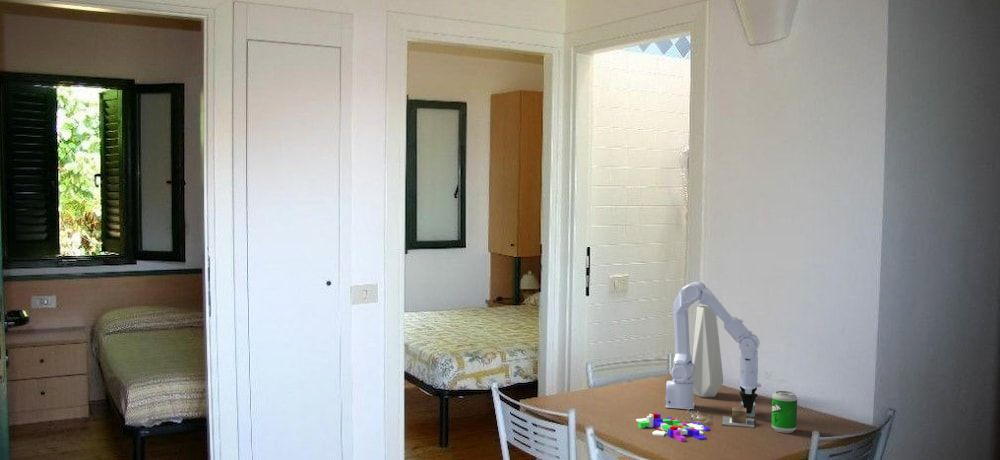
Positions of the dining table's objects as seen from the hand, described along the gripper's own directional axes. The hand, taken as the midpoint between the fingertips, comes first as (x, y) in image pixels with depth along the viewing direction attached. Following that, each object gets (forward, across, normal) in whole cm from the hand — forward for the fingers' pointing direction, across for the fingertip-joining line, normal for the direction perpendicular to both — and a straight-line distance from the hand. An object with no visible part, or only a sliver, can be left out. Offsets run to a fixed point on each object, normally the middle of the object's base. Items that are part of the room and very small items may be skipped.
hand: (748, 410), depth 289 cm
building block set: (+2, -25, +22) cm, 33 cm away
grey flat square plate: (+2, -11, +3) cm, 12 cm away
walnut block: (+1, -11, +3) cm, 12 cm away
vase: (+2, +24, +15) cm, 28 cm away
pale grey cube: (+2, 0, 0) cm, 2 cm away
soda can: (+2, -16, -11) cm, 19 cm away
